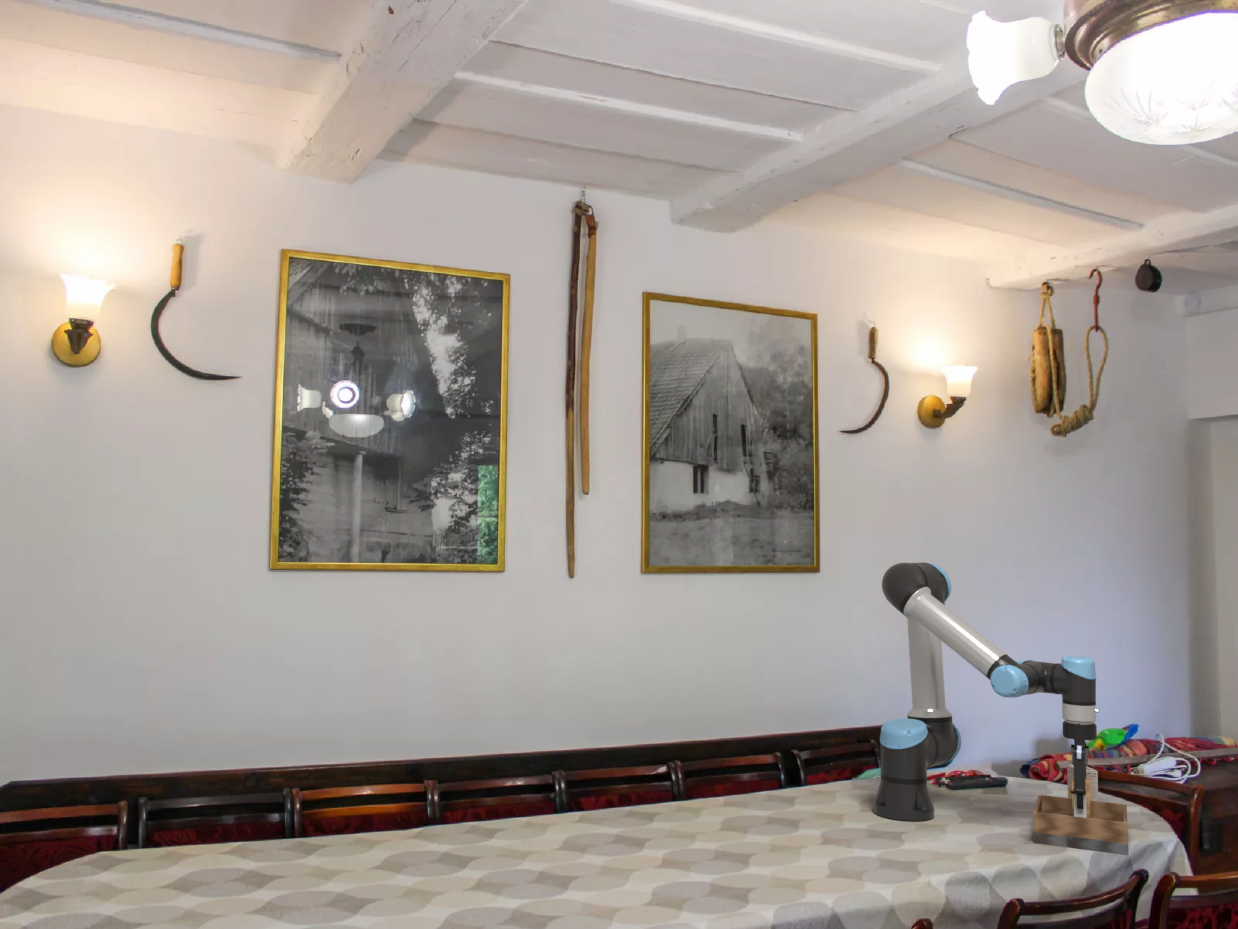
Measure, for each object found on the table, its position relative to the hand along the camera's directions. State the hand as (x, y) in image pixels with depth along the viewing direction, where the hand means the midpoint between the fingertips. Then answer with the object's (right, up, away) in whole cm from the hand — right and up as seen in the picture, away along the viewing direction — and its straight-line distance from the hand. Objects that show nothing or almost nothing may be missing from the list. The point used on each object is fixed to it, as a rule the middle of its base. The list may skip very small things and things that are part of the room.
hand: (1080, 817), depth 250 cm
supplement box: (+8, -7, +18) cm, 21 cm away
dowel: (0, -5, 0) cm, 5 cm away
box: (0, -5, 0) cm, 5 cm away
